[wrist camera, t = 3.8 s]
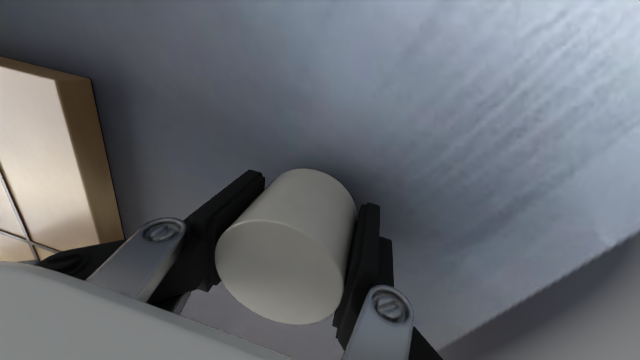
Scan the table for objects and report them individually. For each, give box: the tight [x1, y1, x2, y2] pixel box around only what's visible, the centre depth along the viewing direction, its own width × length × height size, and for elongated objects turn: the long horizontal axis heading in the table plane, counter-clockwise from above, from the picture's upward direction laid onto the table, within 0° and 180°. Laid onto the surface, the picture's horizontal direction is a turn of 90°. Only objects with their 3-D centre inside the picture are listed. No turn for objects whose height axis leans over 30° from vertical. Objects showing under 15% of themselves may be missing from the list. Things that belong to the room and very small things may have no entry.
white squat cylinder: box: [215, 169, 357, 325], centre depth 10 cm, size 4×4×4 cm
